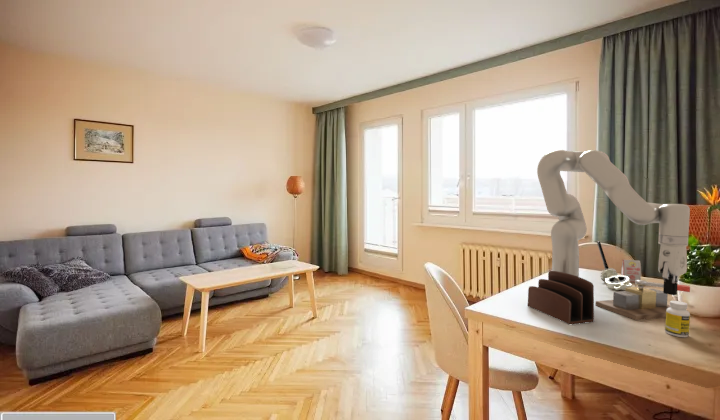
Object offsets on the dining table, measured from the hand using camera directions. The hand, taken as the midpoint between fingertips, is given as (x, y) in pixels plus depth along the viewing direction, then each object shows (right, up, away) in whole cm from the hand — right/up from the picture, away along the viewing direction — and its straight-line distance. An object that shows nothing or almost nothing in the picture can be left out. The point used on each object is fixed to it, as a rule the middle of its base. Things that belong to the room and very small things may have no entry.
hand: (670, 293), depth 122 cm
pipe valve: (-4, -6, +8) cm, 11 cm away
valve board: (-4, -8, +8) cm, 12 cm away
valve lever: (0, +1, +4) cm, 4 cm away
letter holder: (-35, -9, +5) cm, 37 cm away
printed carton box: (+23, -5, +49) cm, 54 cm away
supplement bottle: (-10, -9, -13) cm, 19 cm away
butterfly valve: (+9, -6, +38) cm, 40 cm away
